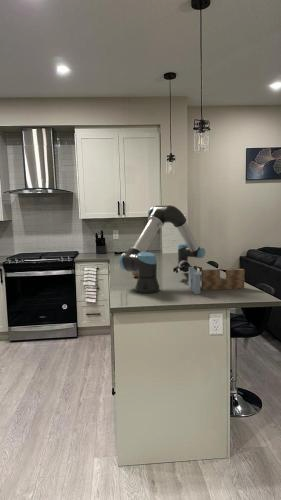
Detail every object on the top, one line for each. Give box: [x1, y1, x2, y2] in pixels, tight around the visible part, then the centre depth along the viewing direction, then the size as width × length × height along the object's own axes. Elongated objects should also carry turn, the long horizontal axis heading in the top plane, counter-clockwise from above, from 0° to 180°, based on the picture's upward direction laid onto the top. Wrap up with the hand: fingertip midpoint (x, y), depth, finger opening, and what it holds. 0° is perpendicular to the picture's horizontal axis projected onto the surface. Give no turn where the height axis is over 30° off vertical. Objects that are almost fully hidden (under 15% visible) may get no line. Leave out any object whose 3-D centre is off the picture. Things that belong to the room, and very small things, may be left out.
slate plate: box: [188, 266, 201, 295], centre depth 194 cm, size 24×3×12 cm, turn 0°
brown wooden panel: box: [201, 268, 245, 291], centre depth 194 cm, size 26×3×12 cm, turn 90°
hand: (189, 271), depth 212 cm, fingers open, 13 cm apart
